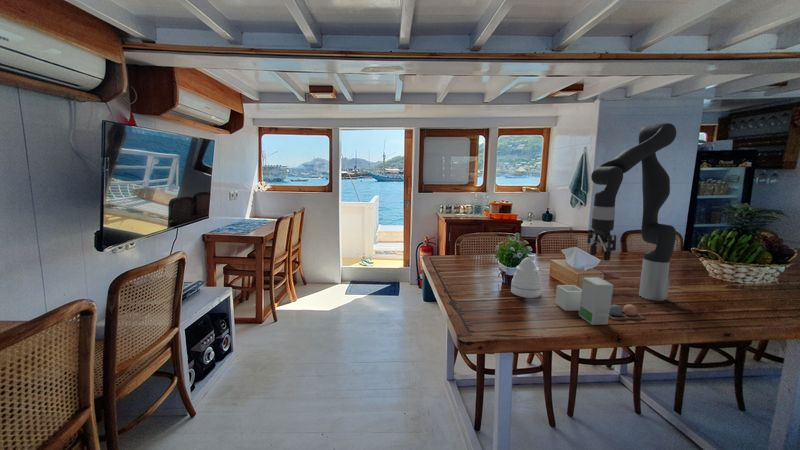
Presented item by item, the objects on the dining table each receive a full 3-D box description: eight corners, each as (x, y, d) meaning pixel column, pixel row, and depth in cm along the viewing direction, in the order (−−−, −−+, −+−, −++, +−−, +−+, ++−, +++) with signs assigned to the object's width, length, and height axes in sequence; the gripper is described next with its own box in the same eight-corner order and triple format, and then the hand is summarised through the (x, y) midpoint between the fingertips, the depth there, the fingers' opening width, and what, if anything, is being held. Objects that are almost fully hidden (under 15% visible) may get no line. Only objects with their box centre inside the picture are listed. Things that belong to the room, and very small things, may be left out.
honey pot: (544, 292, 151) (547, 254, 148) (534, 300, 142) (536, 260, 139) (517, 285, 160) (520, 250, 157) (506, 292, 150) (508, 254, 148)
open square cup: (572, 303, 138) (574, 285, 137) (583, 310, 131) (585, 291, 130) (555, 303, 138) (556, 285, 137) (565, 310, 130) (566, 291, 129)
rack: (631, 311, 130) (631, 310, 130) (645, 319, 123) (645, 317, 123) (599, 312, 129) (600, 310, 129) (612, 319, 122) (612, 318, 122)
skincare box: (578, 315, 126) (581, 277, 124) (594, 315, 126) (598, 276, 124) (592, 325, 118) (596, 284, 115) (609, 325, 118) (614, 284, 116)
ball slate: (616, 313, 128) (617, 302, 128) (624, 318, 124) (625, 307, 123) (605, 313, 128) (606, 302, 127) (613, 318, 124) (614, 307, 123)
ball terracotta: (630, 312, 129) (631, 302, 128) (639, 317, 124) (640, 306, 124) (619, 313, 128) (621, 302, 128) (628, 317, 124) (629, 307, 123)
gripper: (625, 220, 121) (620, 262, 124) (601, 215, 135) (597, 253, 138) (605, 220, 121) (601, 262, 124) (583, 215, 135) (580, 253, 138)
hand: (599, 257), depth 131 cm, fingers open, 8 cm apart
